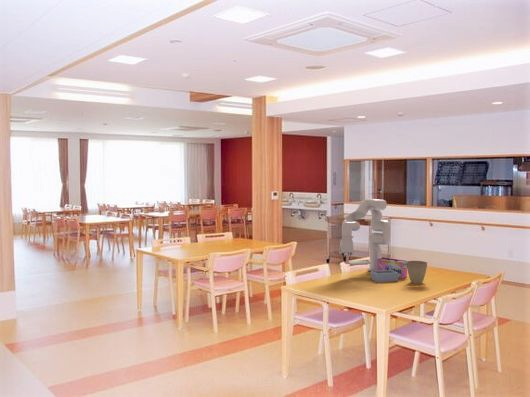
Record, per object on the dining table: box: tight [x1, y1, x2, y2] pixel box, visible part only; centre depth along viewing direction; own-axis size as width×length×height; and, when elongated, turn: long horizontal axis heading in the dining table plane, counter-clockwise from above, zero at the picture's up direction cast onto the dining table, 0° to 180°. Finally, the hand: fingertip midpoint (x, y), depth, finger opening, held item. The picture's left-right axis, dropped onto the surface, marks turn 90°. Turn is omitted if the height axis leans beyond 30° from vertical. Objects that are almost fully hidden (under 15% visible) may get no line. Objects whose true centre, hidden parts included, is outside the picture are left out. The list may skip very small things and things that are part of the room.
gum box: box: [377, 256, 408, 279], centre depth 398 cm, size 24×8×14 cm, turn 45°
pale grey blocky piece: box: [343, 253, 372, 266], centre depth 392 cm, size 11×20×8 cm, turn 103°
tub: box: [370, 270, 399, 283], centre depth 381 cm, size 11×17×7 cm, turn 103°
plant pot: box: [406, 260, 428, 285], centre depth 372 cm, size 15×15×16 cm
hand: (346, 261), depth 390 cm, fingers closed on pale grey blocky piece
